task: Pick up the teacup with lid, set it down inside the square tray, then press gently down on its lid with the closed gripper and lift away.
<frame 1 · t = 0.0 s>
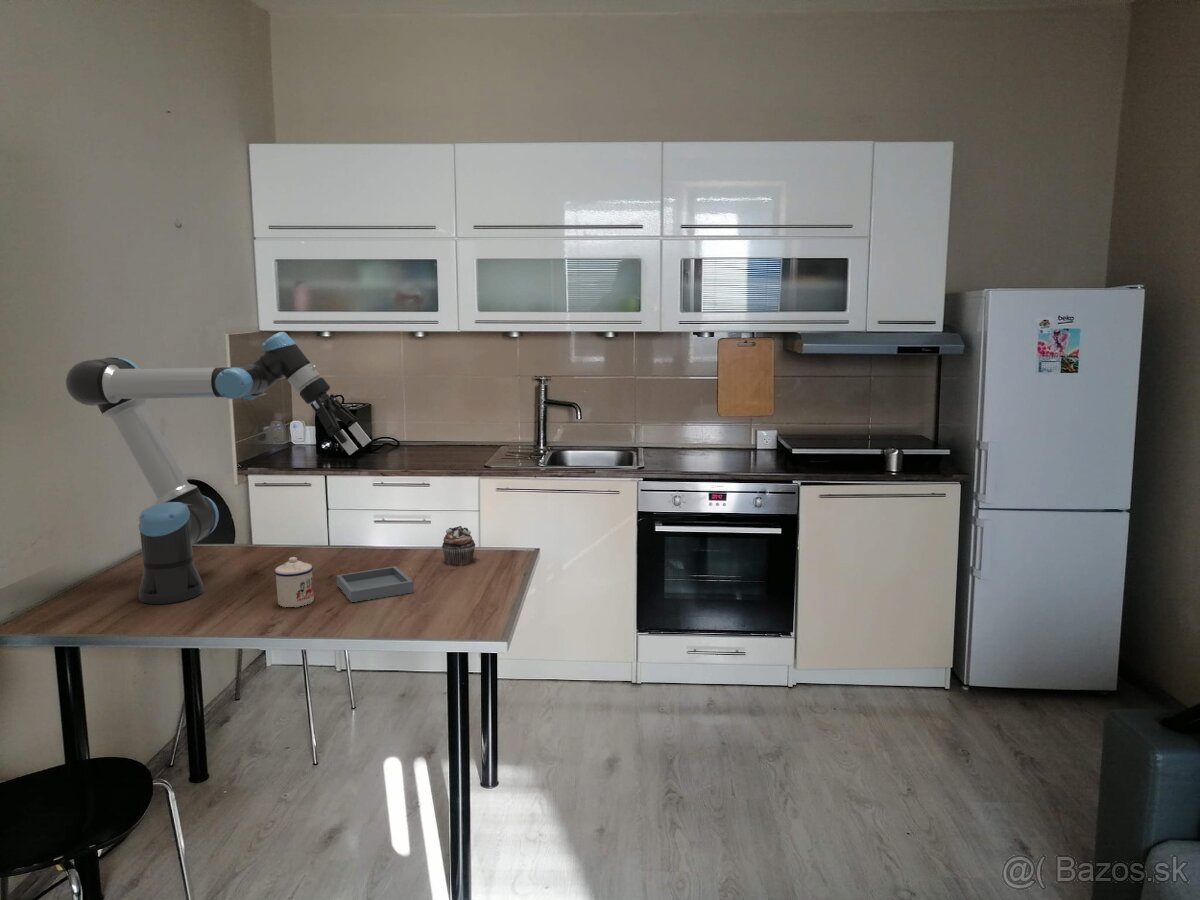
hand: (360, 447, 241), 36 cm above the table, tool tilted 35°, fingers open, 13 cm apart
square tray: (374, 589, 236), on the table
cupcake: (459, 562, 261), on the table
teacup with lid: (299, 601, 228), on the table
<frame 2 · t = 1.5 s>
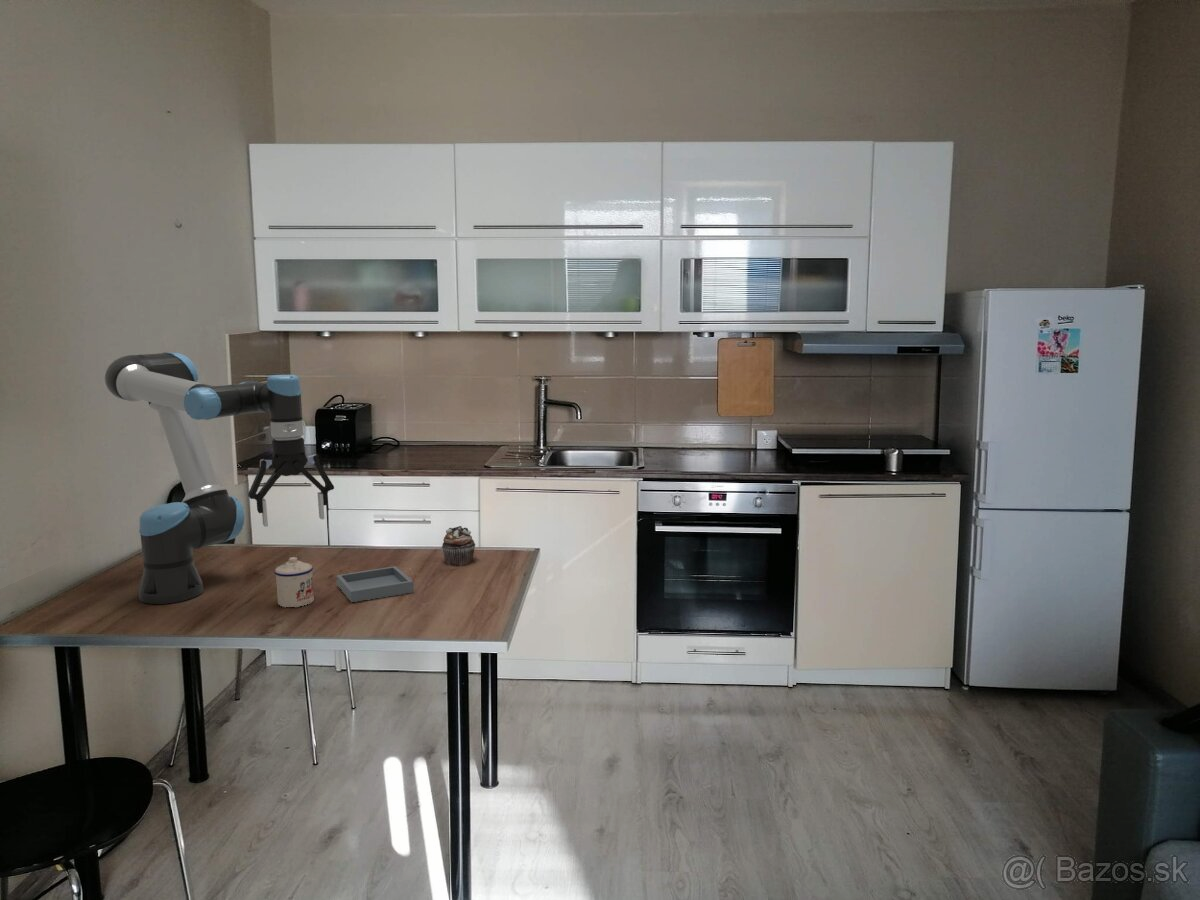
hand: (294, 521, 225), 20 cm above the table, tool pointing down, fingers open, 13 cm apart
nothing on the table moved.
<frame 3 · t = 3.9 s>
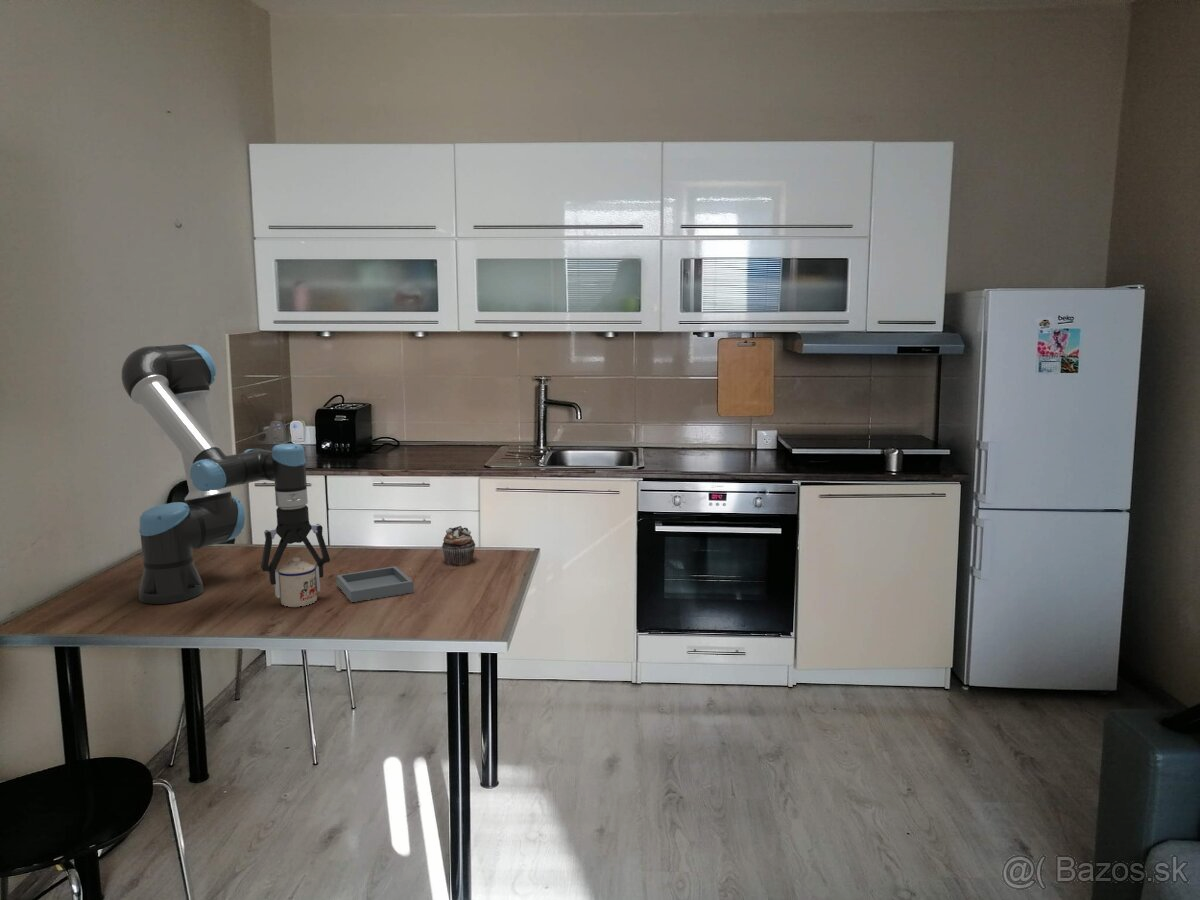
hand: (297, 593, 228), 2 cm above the table, tool pointing down, fingers closed on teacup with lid, 9 cm apart
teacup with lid: (302, 600, 229), on the table, touching gripper
everything else where it was.
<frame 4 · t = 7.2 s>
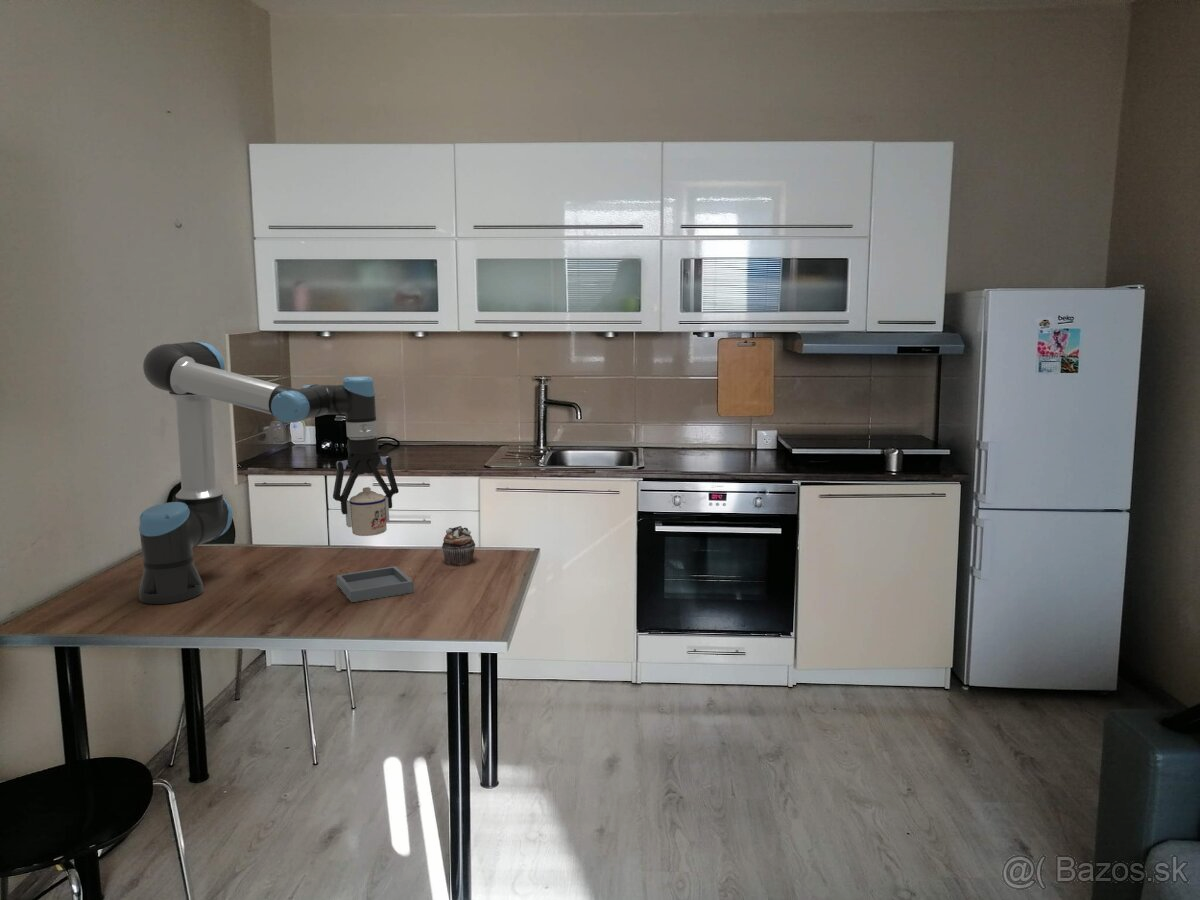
hand: (368, 523, 233), 18 cm above the table, tool pointing down, fingers closed on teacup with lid, 9 cm apart
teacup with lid: (372, 531, 234), point 16 cm above the table, touching gripper
everything else where it was.
when the fingers open (4 cm above the table, at t = 10.3 s): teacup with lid drops 1 cm, resting on square tray.
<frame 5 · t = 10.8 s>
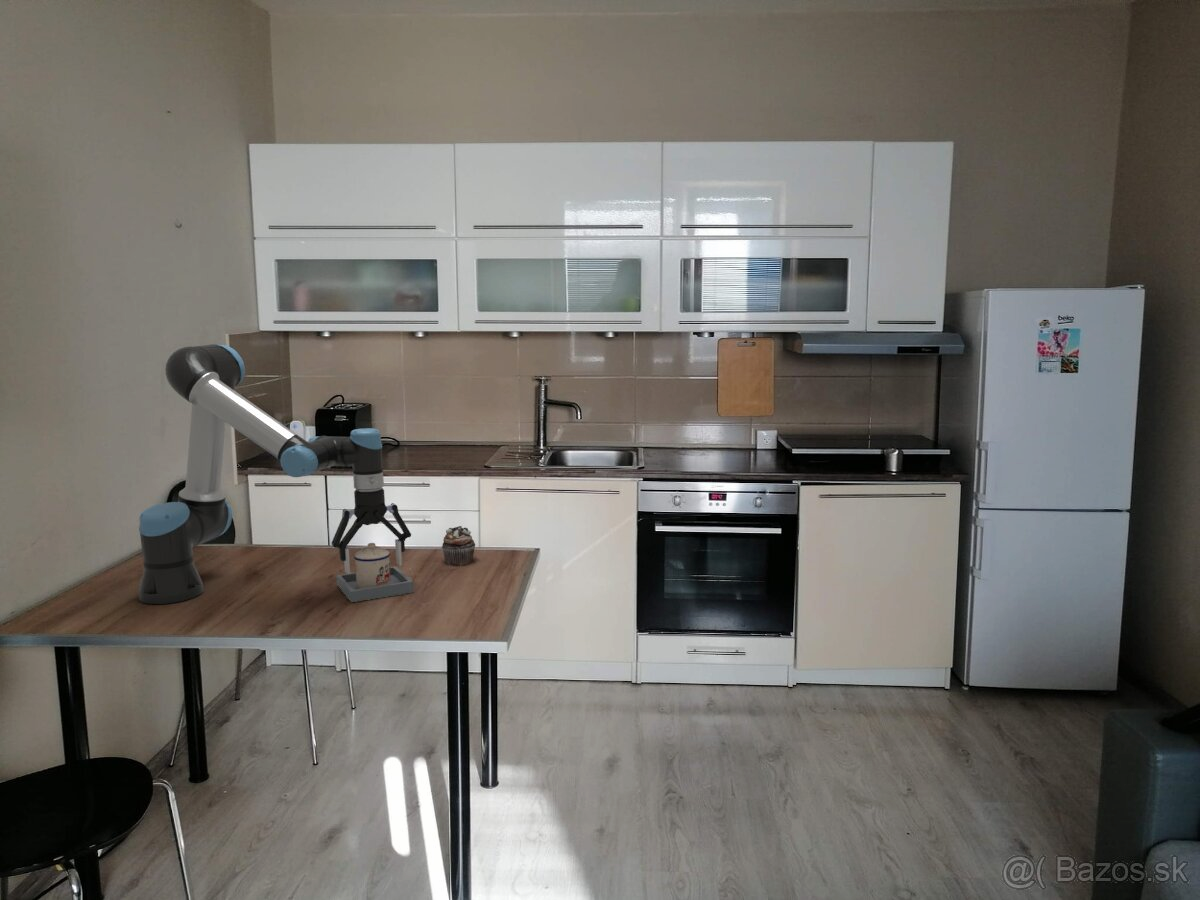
hand: (373, 568, 235), 6 cm above the table, tool pointing down, fingers open, 13 cm apart
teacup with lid: (376, 585, 237), point 1 cm above the table, touching square tray
everything else where it was.
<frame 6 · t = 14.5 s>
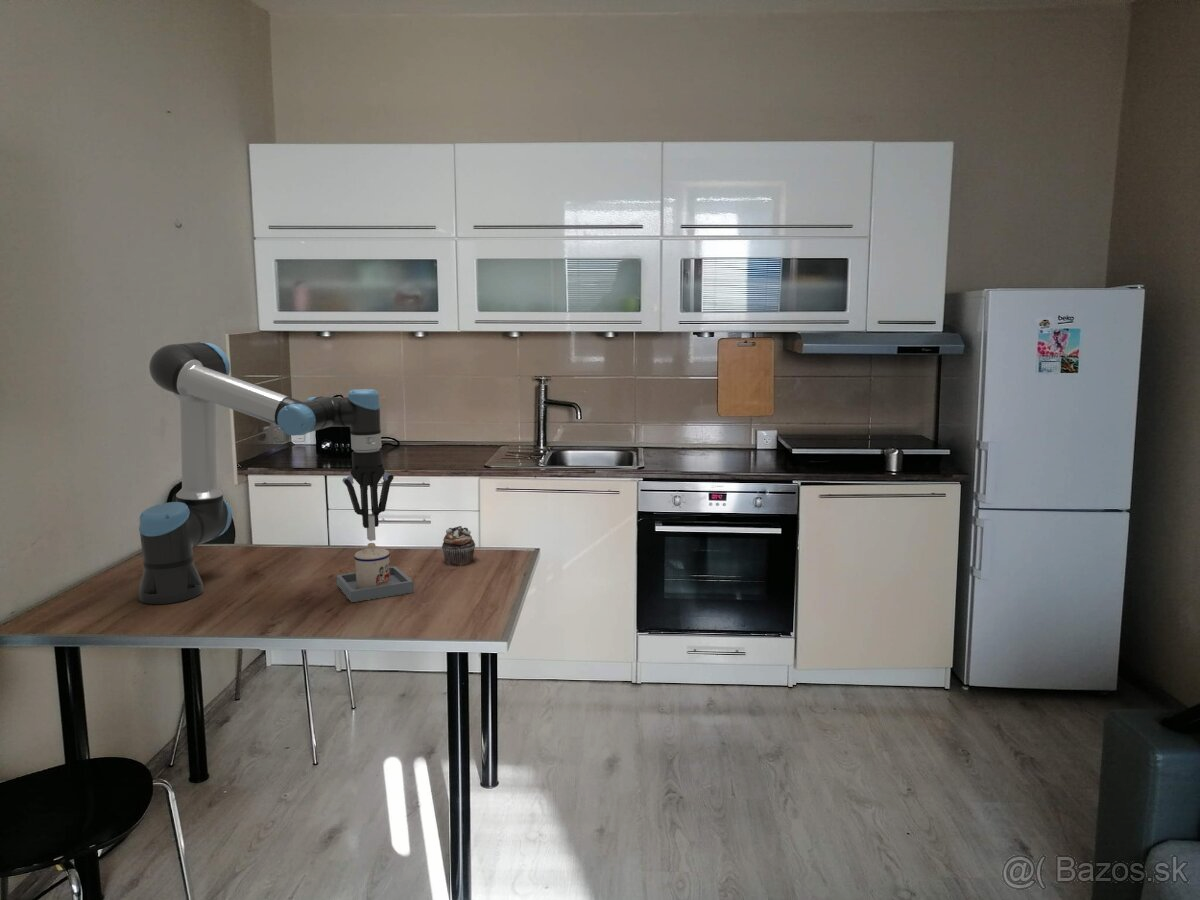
hand: (371, 539, 234), 14 cm above the table, tool pointing down, fingers closed
nothing on the table moved.
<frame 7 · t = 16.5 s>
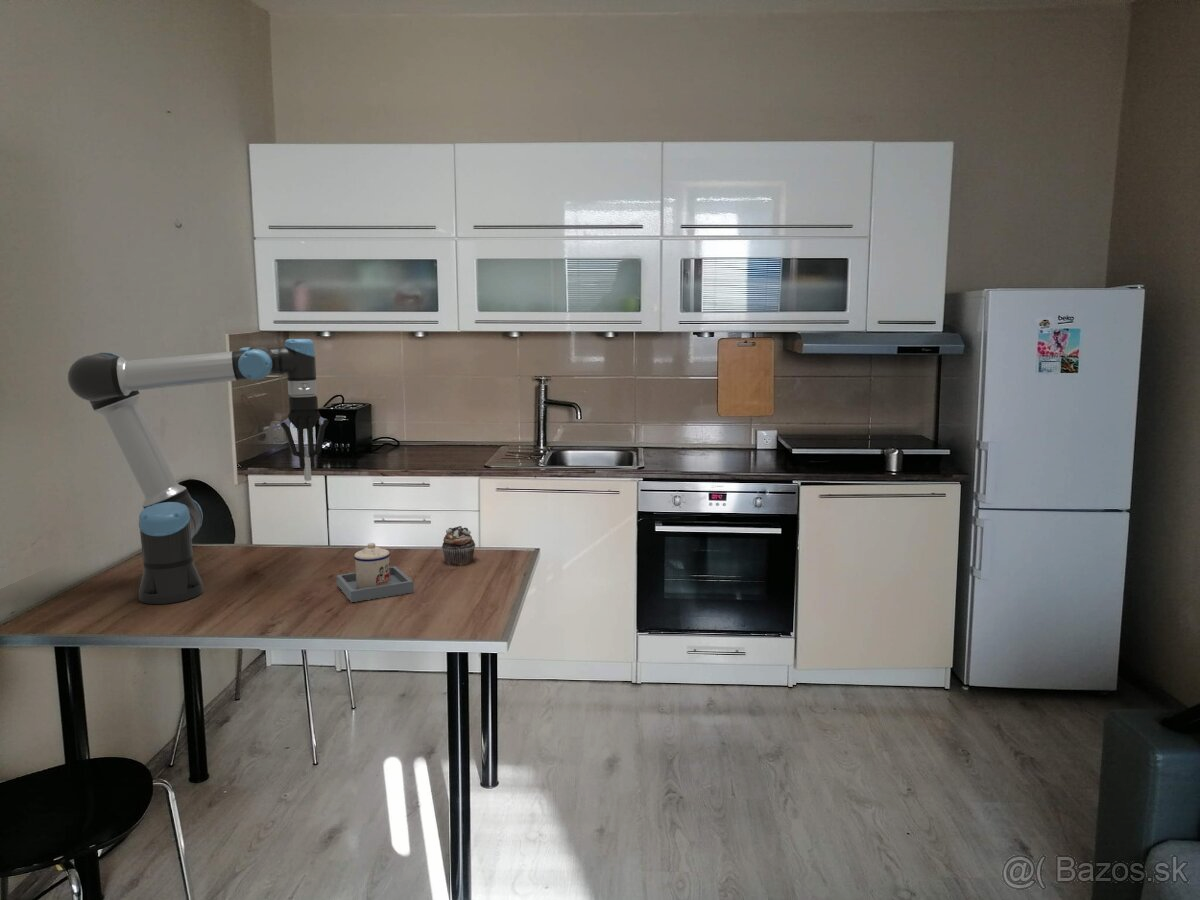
hand: (307, 479, 251), 26 cm above the table, tool pointing down, fingers closed
nothing on the table moved.
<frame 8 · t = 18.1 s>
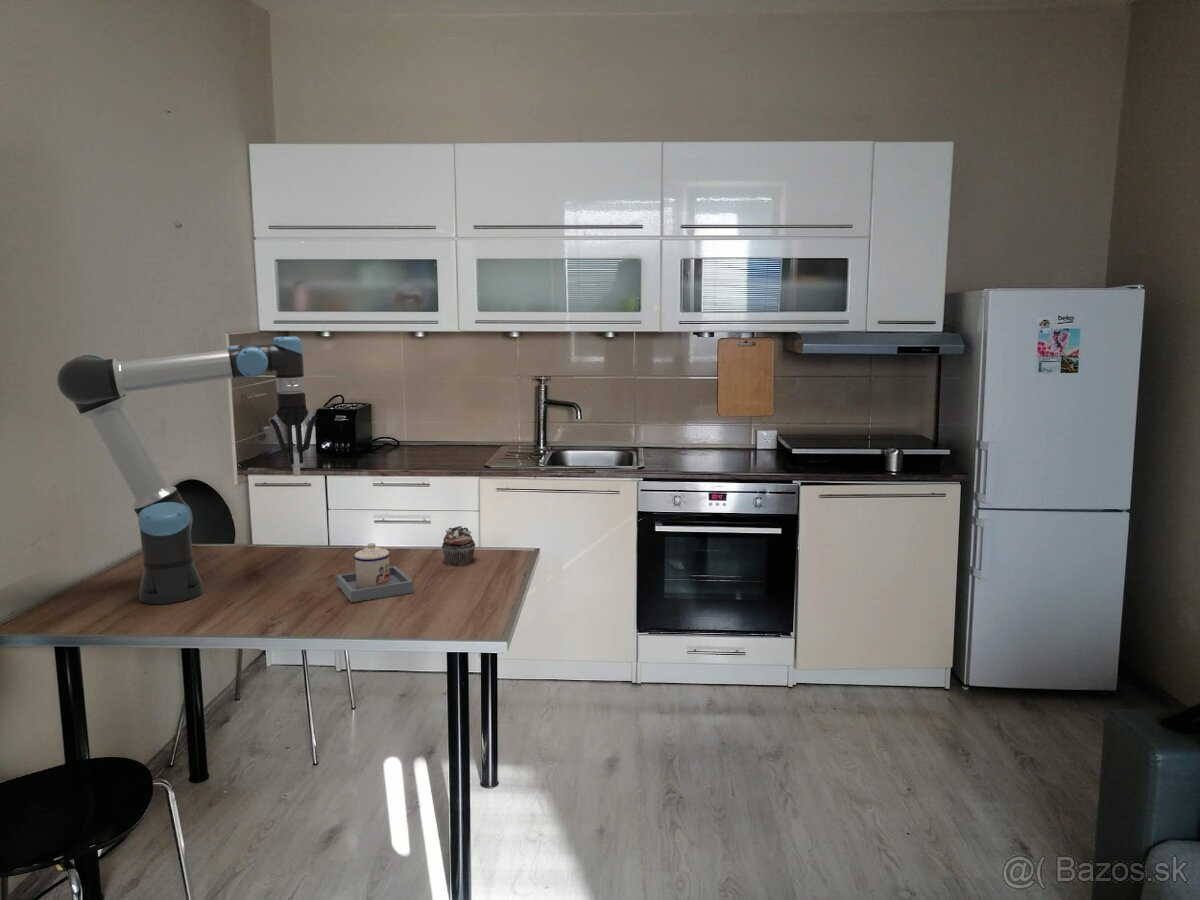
hand: (296, 475, 255), 26 cm above the table, tool pointing down, fingers closed
nothing on the table moved.
at the end: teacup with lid inside the target area on the square tray (0.5 cm from its centre), point 0.8 cm above the square tray's base; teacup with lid tilted 0°; the gripper is holding nothing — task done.
